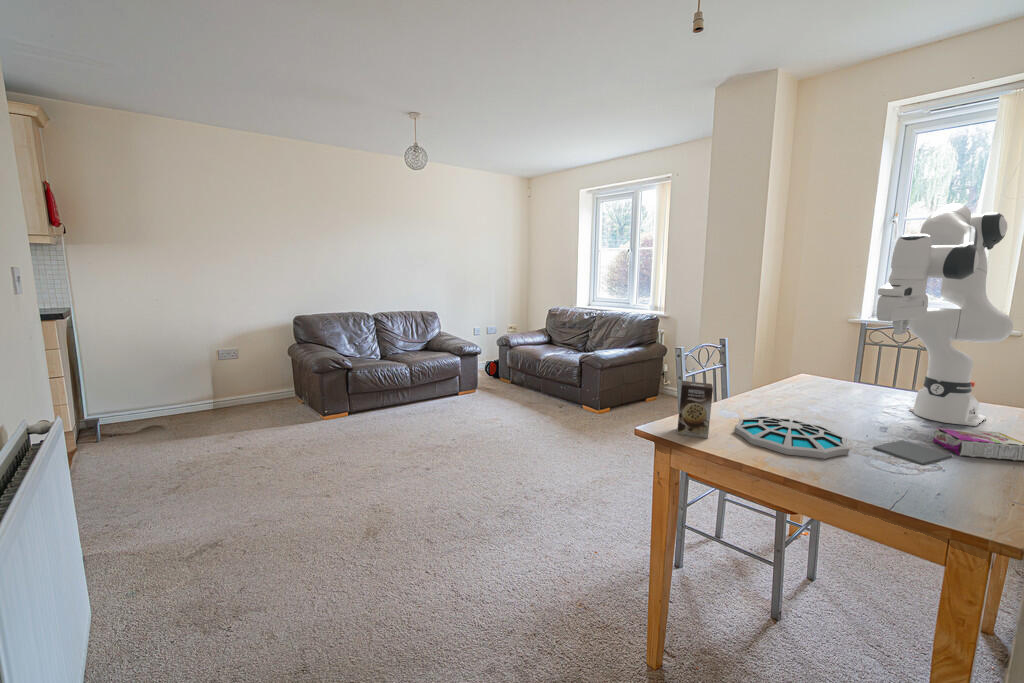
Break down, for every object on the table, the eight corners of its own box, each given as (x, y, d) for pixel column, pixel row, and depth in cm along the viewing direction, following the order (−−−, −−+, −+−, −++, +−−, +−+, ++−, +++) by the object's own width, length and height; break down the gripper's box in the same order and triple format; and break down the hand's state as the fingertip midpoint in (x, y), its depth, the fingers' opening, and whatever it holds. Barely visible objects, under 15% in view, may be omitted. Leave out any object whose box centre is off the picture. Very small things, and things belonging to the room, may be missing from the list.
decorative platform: (875, 460, 125) (878, 443, 124) (773, 460, 123) (775, 443, 123) (800, 422, 155) (802, 408, 154) (717, 422, 154) (719, 408, 153)
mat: (902, 441, 138) (902, 439, 137) (952, 457, 127) (952, 455, 127) (872, 448, 132) (873, 446, 132) (922, 465, 121) (923, 463, 121)
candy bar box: (934, 426, 137) (999, 431, 134) (932, 442, 138) (996, 447, 135) (962, 439, 126) (1033, 445, 123) (959, 456, 127) (1029, 462, 124)
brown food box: (677, 434, 141) (680, 384, 138) (677, 428, 147) (681, 379, 144) (708, 439, 138) (713, 387, 135) (707, 432, 144) (712, 382, 141)
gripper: (913, 287, 143) (906, 330, 145) (874, 289, 135) (868, 335, 137) (938, 288, 137) (930, 333, 140) (899, 290, 129) (892, 338, 132)
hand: (899, 334), depth 138 cm, fingers closed
